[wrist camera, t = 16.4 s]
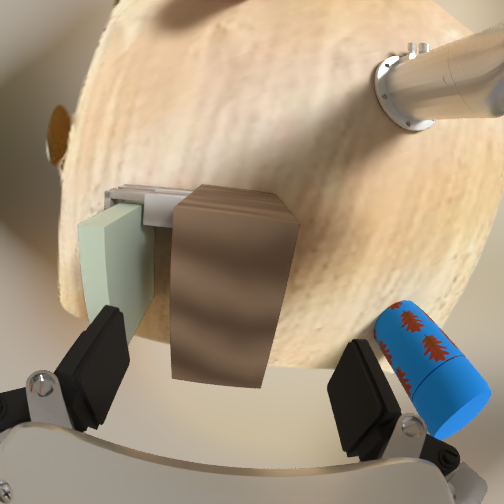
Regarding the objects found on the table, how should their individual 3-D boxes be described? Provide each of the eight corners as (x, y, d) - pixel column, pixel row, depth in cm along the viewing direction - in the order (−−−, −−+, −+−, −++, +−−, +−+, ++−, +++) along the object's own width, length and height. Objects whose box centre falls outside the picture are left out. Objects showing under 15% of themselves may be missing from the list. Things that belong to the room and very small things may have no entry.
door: (131, 194, 35) (69, 223, 20) (156, 196, 36) (104, 227, 21) (131, 292, 41) (90, 355, 26) (153, 296, 41) (119, 363, 26)
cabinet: (127, 177, 34) (62, 197, 20) (275, 194, 36) (299, 223, 21) (127, 295, 41) (86, 358, 26) (254, 313, 43) (260, 388, 28)
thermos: (370, 313, 44) (440, 419, 21) (418, 290, 43) (500, 376, 20) (375, 353, 48) (427, 450, 24) (418, 332, 47) (481, 415, 23)
